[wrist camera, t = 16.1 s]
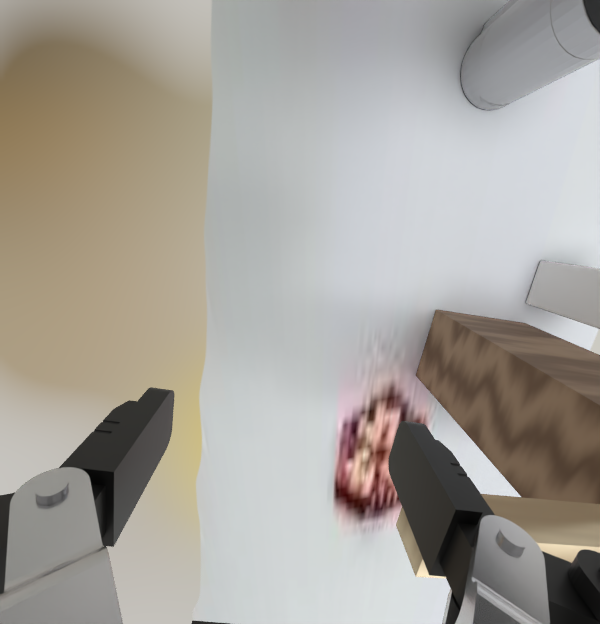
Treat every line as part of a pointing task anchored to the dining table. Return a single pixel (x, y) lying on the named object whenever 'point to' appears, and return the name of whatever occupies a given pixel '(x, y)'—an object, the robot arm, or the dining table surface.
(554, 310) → the milk carton
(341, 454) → the dining table surface
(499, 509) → the wooden block
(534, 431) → the pedestal
